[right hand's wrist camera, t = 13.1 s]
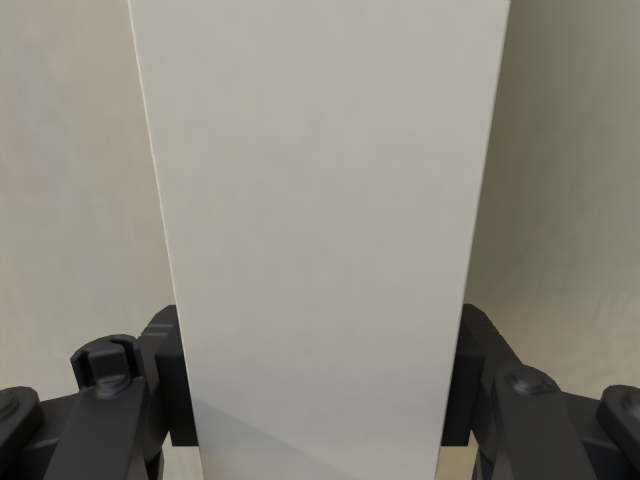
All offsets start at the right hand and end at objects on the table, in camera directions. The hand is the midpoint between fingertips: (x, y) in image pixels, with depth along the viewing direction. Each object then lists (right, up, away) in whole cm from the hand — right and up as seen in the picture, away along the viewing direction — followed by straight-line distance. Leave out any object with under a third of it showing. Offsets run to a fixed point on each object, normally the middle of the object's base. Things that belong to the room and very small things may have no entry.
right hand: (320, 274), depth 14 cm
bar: (0, +9, -2) cm, 9 cm away
